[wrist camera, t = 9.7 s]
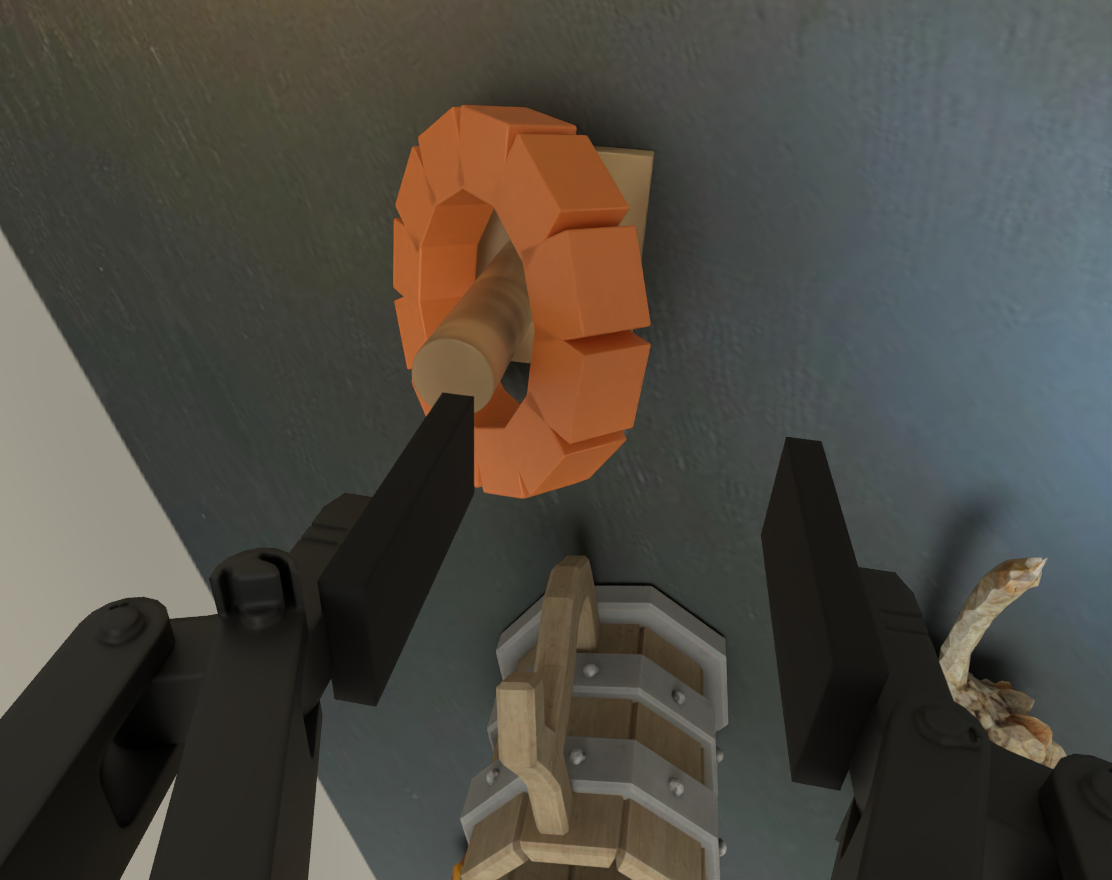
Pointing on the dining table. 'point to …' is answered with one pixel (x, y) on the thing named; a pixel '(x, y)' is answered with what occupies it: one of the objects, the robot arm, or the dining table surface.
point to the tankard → (601, 740)
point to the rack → (508, 300)
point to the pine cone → (997, 701)
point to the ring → (529, 285)
